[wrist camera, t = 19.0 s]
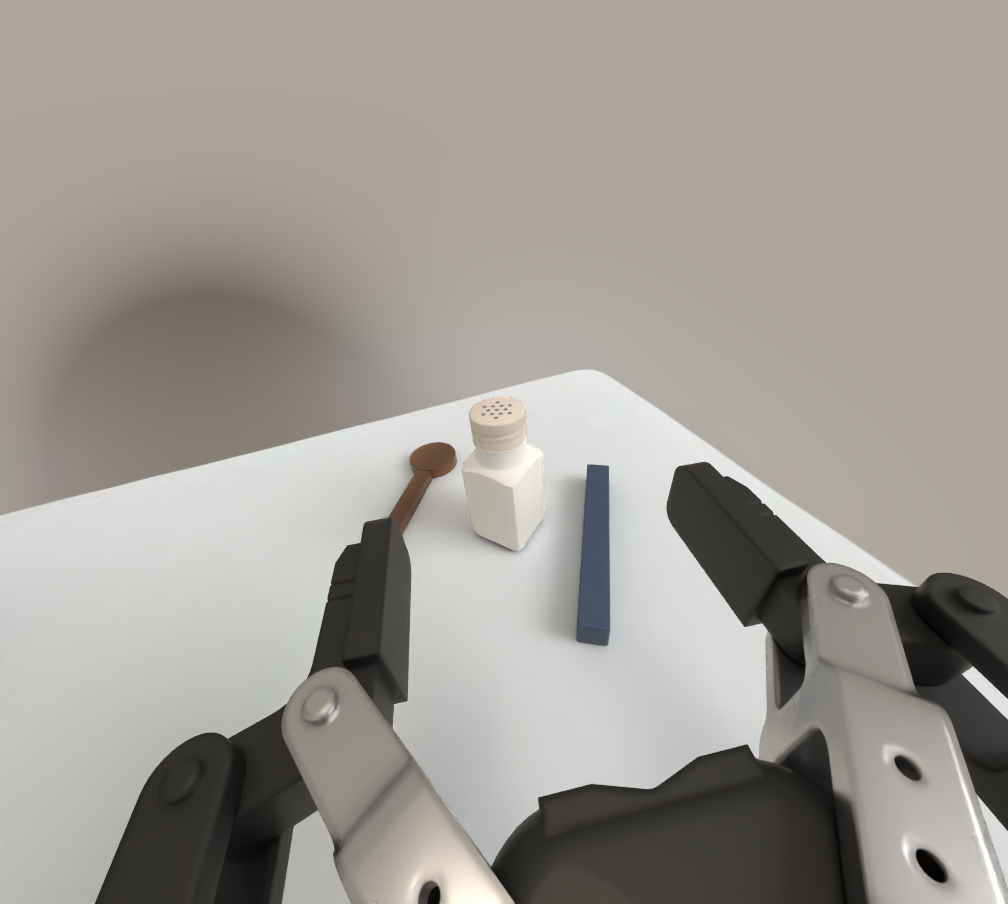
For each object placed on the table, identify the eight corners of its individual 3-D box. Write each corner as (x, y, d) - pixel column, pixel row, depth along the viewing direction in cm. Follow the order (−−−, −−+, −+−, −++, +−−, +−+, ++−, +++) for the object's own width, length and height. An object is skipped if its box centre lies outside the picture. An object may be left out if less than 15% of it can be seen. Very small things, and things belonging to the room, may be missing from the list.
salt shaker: (548, 517, 27) (545, 400, 21) (520, 557, 24) (508, 437, 19) (501, 499, 29) (487, 388, 23) (470, 535, 26) (446, 419, 21)
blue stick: (576, 641, 20) (576, 625, 19) (586, 479, 30) (587, 463, 29) (607, 646, 19) (610, 630, 19) (607, 481, 30) (608, 465, 29)
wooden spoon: (340, 576, 25) (335, 567, 24) (422, 448, 35) (420, 441, 35) (396, 584, 24) (392, 576, 23) (462, 451, 34) (461, 443, 34)
